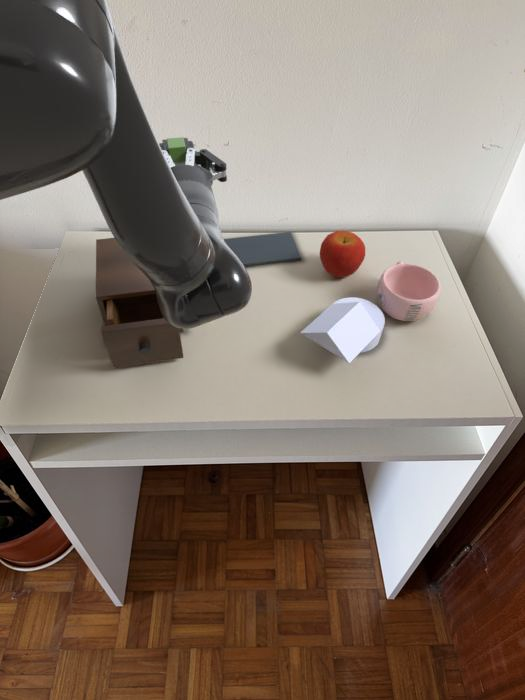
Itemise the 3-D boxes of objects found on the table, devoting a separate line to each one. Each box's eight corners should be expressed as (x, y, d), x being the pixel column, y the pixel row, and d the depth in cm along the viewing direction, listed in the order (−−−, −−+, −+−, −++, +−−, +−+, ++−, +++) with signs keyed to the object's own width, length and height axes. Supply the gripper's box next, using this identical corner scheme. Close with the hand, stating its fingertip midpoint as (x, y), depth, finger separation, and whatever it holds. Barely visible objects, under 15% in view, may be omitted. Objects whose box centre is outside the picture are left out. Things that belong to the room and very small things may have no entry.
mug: (439, 327, 82) (451, 301, 77) (380, 330, 81) (388, 303, 77) (419, 279, 90) (428, 253, 85) (365, 280, 89) (371, 254, 84)
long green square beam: (179, 233, 84) (168, 148, 72) (177, 223, 86) (166, 138, 74) (194, 232, 84) (185, 146, 73) (192, 221, 86) (183, 137, 75)
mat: (182, 274, 89) (181, 271, 88) (177, 246, 94) (177, 244, 93) (300, 260, 92) (301, 257, 92) (290, 234, 97) (290, 231, 97)
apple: (366, 282, 89) (375, 246, 83) (324, 288, 87) (330, 252, 81) (352, 255, 94) (359, 220, 88) (312, 260, 92) (316, 225, 86)
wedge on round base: (345, 377, 74) (390, 330, 81) (353, 348, 69) (400, 300, 76) (298, 347, 78) (345, 304, 85) (302, 317, 73) (351, 274, 80)
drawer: (184, 364, 74) (179, 328, 68) (113, 374, 73) (101, 338, 67) (175, 301, 83) (170, 265, 77) (111, 309, 81) (101, 272, 75)
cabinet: (183, 331, 80) (177, 287, 72) (109, 341, 78) (95, 297, 71) (175, 276, 88) (169, 231, 81) (108, 284, 87) (96, 239, 79)
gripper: (239, 176, 64) (218, 116, 75) (128, 186, 62) (124, 123, 73) (239, 225, 70) (221, 163, 81) (138, 236, 67) (133, 171, 78)
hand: (175, 144), depth 77 cm, fingers closed on long green square beam, 2 cm apart
